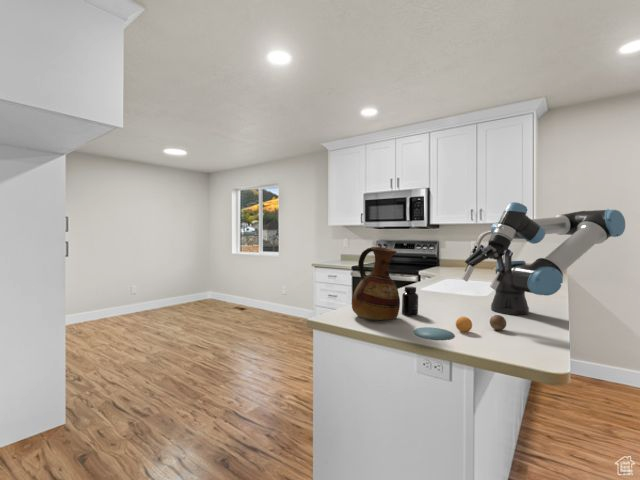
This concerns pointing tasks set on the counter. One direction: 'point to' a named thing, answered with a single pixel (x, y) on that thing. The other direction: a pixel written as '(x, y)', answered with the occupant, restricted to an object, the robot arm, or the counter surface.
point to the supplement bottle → (410, 301)
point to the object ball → (463, 324)
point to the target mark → (433, 333)
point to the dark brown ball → (498, 322)
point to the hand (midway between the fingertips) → (477, 284)
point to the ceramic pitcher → (376, 288)
